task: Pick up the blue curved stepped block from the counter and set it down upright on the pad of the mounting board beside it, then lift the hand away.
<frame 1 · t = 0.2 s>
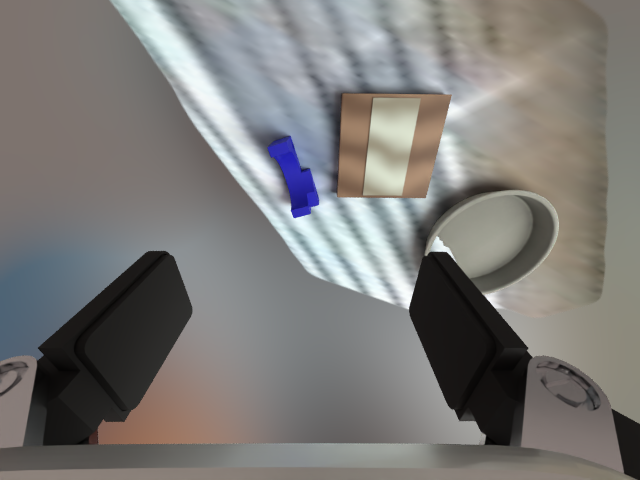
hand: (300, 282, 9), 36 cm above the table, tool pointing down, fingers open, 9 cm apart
cake pan: (475, 238, 51), on the table
mounting board: (385, 148, 41), on the table
blue curved stepped block: (297, 171, 43), on the table
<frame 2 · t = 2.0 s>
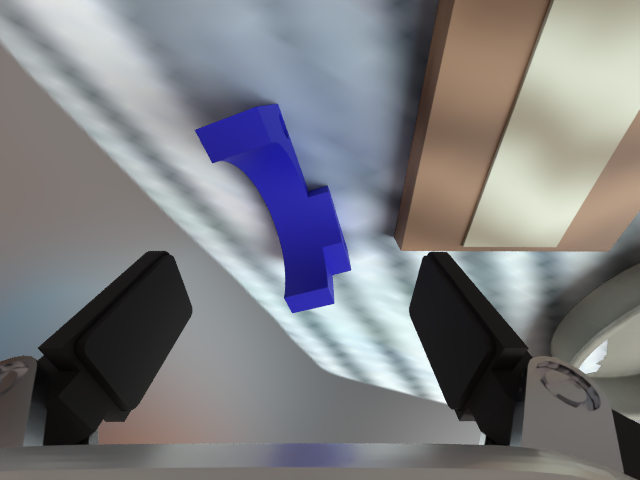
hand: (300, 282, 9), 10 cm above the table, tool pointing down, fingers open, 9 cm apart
mounting board: (533, 134, 16), on the table
blue curved stepped block: (299, 192, 18), on the table
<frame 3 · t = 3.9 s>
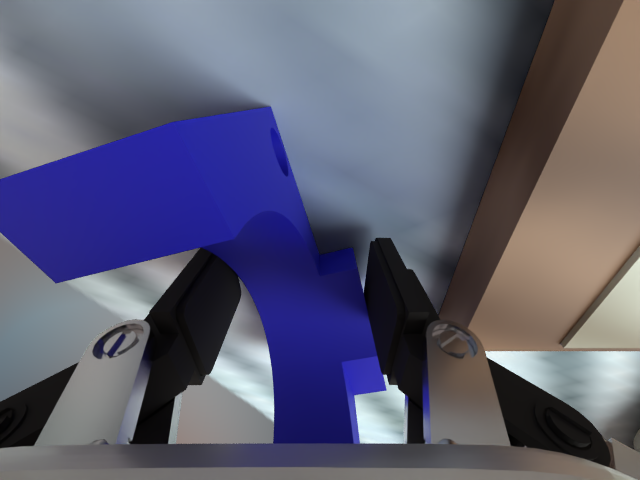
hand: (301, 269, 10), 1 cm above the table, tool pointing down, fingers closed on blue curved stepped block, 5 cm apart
blue curved stepped block: (303, 256, 11), on the table, touching gripper
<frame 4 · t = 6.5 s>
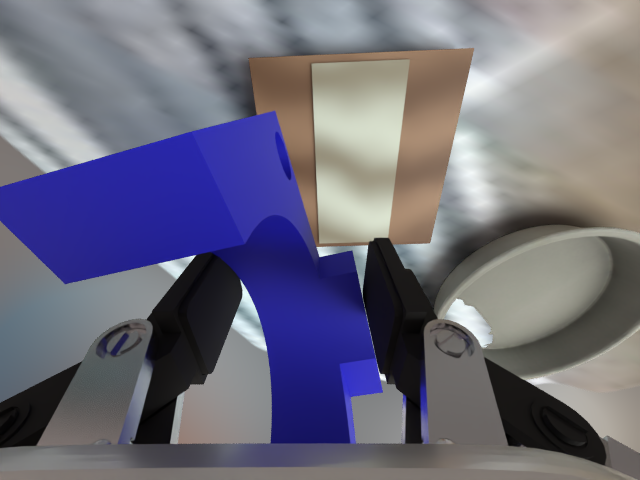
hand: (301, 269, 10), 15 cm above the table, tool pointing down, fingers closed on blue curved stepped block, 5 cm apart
cake pan: (513, 294, 32), on the table
mounting board: (353, 162, 23), on the table
blue curved stepped block: (303, 258, 11), point 14 cm above the table, touching gripper
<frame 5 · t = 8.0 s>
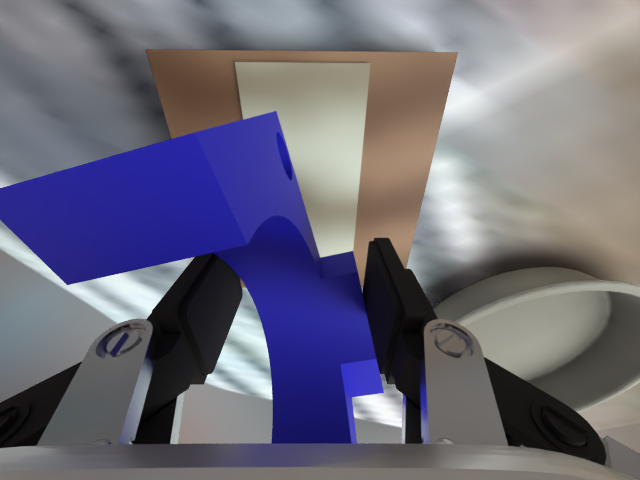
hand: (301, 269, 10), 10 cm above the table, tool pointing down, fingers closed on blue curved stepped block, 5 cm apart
cake pan: (498, 336, 28), on the table
mounting board: (307, 189, 18), on the table
blue curved stepped block: (304, 258, 11), point 8 cm above the table, touching gripper
when the fingers open (4 cm above the table, at t = 9.3 s): blue curved stepped block drops 1 cm, resting on mounting board.
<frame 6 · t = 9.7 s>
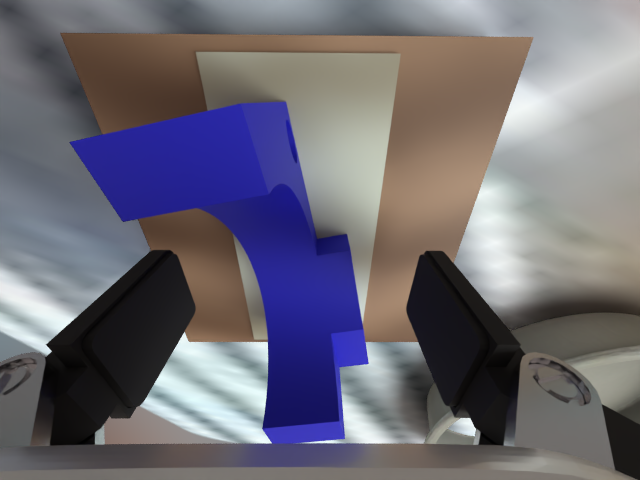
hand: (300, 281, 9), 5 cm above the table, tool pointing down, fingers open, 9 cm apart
cake pan: (534, 385, 24), on the table
mounting board: (306, 222, 14), on the table
blue curved stepped block: (302, 239, 12), point 2 cm above the table, touching mounting board
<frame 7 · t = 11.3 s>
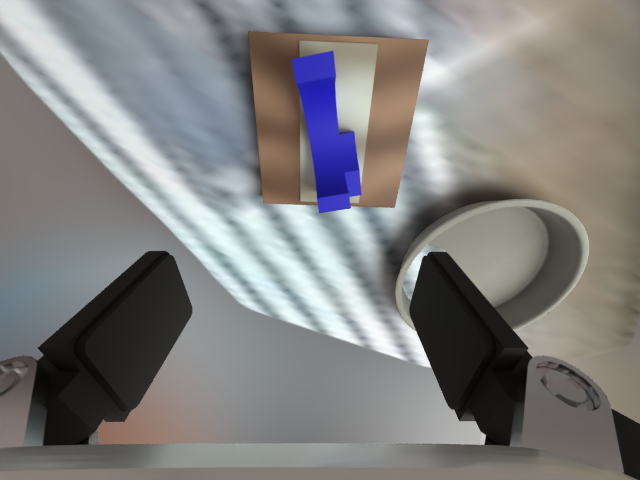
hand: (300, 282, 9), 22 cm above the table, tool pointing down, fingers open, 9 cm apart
cake pan: (468, 265, 37), on the table
mounting board: (332, 132, 27), on the table
blue curved stepped block: (331, 134, 25), point 2 cm above the table, touching mounting board
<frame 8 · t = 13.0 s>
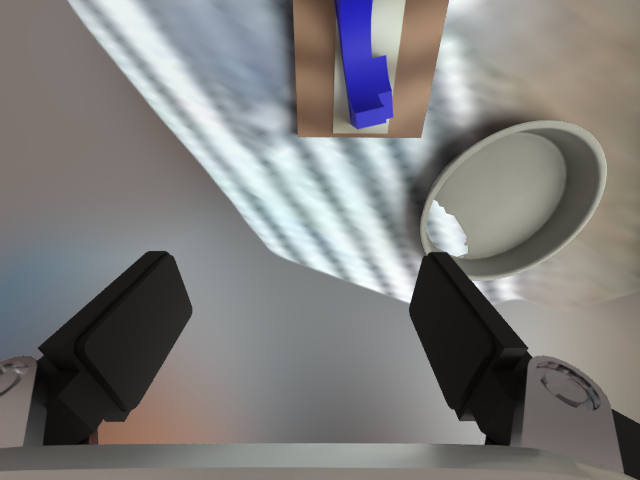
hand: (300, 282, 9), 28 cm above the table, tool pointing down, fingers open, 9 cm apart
cake pan: (488, 203, 38), on the table
mounting board: (363, 63, 29), on the table
blue curved stepped block: (362, 62, 27), point 2 cm above the table, touching mounting board
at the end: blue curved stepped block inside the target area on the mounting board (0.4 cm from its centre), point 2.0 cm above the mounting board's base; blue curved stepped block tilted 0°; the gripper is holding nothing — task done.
